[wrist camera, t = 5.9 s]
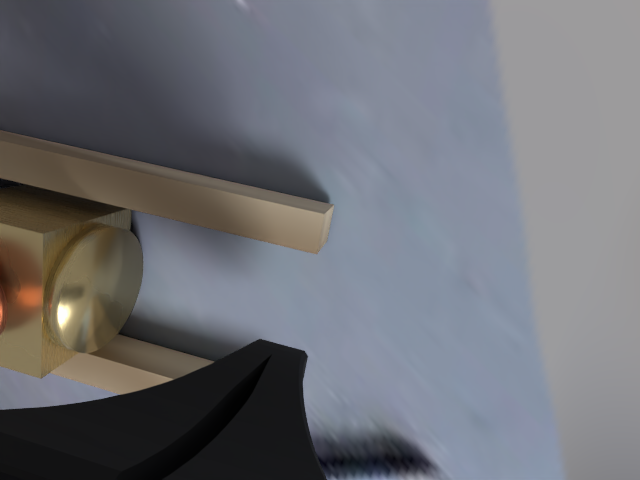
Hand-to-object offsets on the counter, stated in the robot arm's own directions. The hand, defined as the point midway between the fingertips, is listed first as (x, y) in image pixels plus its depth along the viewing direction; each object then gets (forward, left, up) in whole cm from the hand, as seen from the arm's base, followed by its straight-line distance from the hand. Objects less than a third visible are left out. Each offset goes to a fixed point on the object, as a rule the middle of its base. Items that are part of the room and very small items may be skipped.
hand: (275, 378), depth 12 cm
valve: (0, +9, -4) cm, 10 cm away
